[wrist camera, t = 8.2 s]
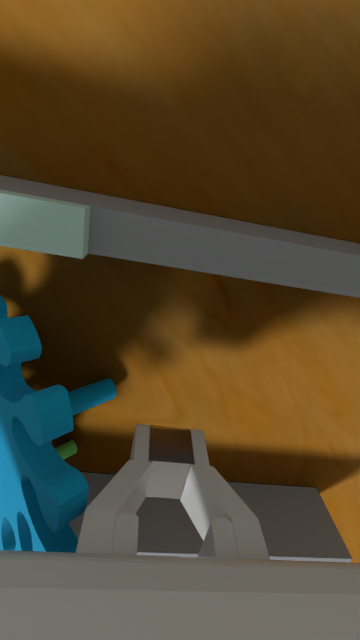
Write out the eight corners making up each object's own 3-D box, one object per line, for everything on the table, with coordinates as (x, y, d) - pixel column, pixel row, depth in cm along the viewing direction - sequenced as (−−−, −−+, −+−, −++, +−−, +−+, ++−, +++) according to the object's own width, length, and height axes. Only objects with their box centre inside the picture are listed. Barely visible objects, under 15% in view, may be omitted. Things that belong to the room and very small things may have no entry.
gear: (-79, 231, 10) (74, 518, 5) (85, 242, 14) (239, 401, 10) (-77, 430, 15) (-1, 651, 11) (40, 392, 19) (127, 537, 15)
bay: (446, 260, 13) (599, 304, 8) (309, 499, 20) (353, 594, 15) (-185, 139, 10) (-481, 108, 5) (-87, 475, 17) (-179, 587, 12)
